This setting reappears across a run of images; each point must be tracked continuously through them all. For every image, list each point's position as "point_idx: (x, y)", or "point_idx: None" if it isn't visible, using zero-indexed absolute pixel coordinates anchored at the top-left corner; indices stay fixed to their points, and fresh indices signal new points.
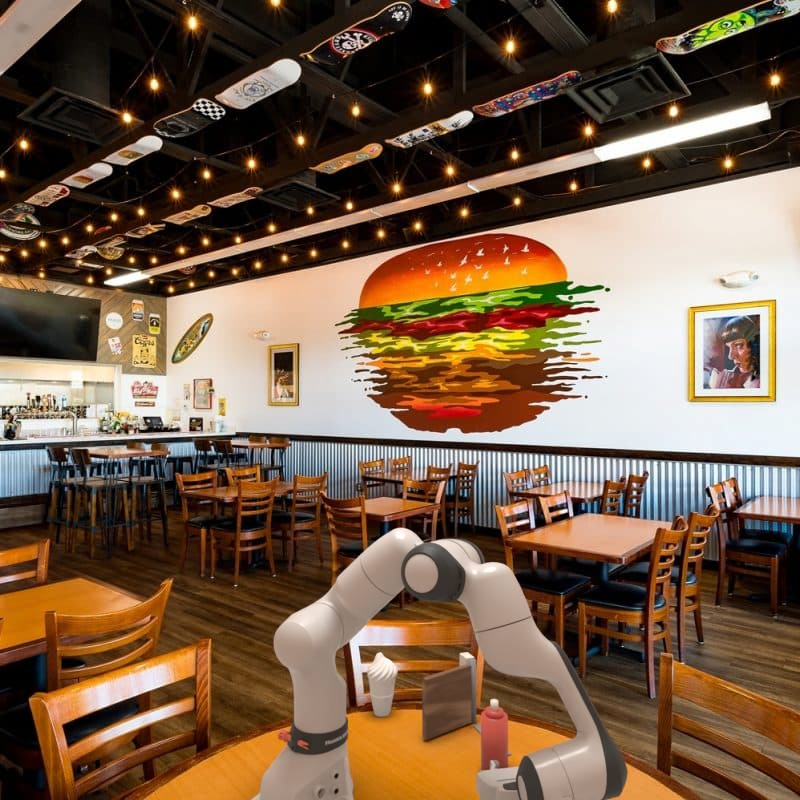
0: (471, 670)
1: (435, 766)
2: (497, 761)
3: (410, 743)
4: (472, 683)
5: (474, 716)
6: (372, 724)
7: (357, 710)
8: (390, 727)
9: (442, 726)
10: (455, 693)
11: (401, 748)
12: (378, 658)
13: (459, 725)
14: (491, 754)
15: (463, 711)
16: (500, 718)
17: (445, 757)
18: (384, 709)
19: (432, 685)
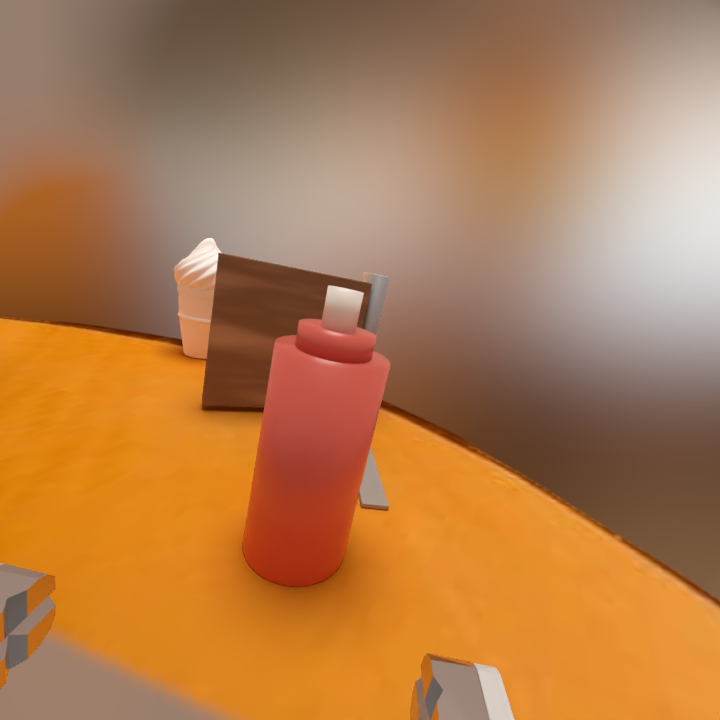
0: (371, 297)
1: (126, 465)
2: (25, 595)
3: (165, 401)
4: (366, 328)
5: None
6: (154, 358)
7: (168, 341)
8: (177, 370)
9: (259, 391)
10: None
11: (126, 402)
12: (201, 245)
13: None
14: (268, 493)
15: None
16: (344, 361)
17: (194, 453)
18: (195, 343)
19: (240, 278)
